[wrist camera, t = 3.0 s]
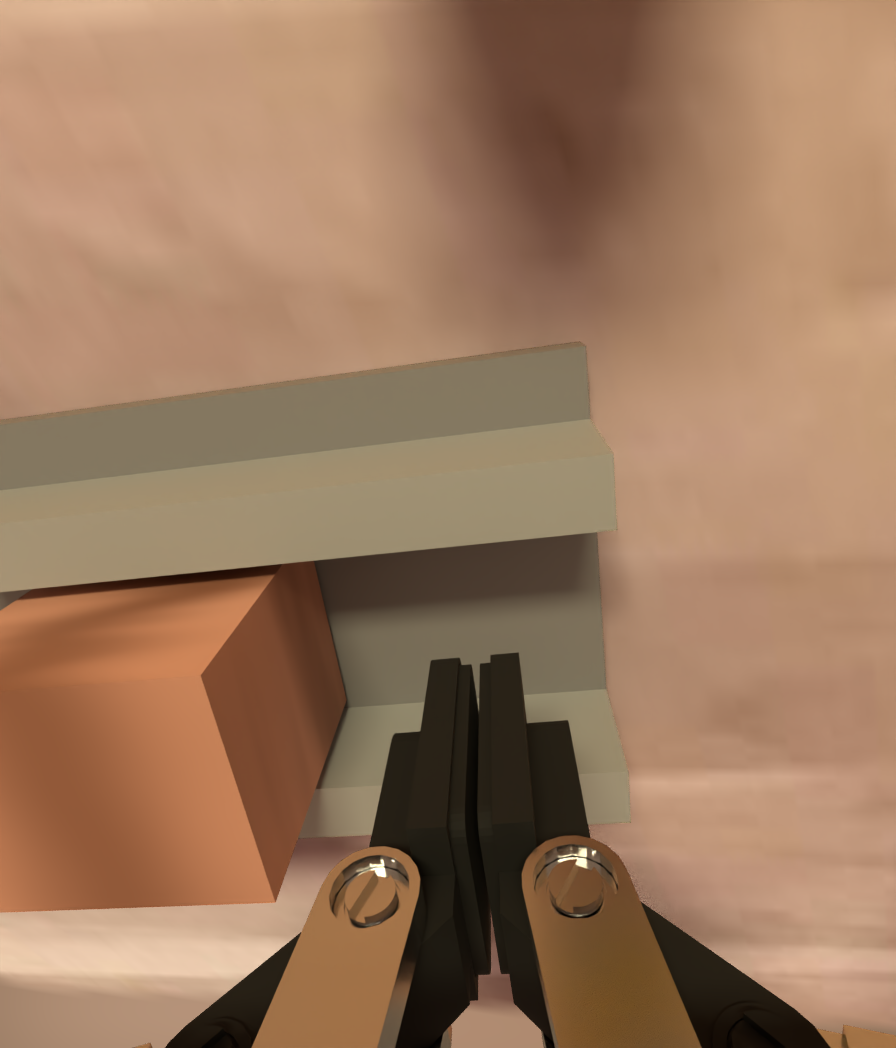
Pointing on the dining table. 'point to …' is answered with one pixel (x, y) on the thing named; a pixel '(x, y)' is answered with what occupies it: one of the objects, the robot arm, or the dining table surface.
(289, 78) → the dining table surface
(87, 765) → the block
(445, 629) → the chute
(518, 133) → the dining table surface
